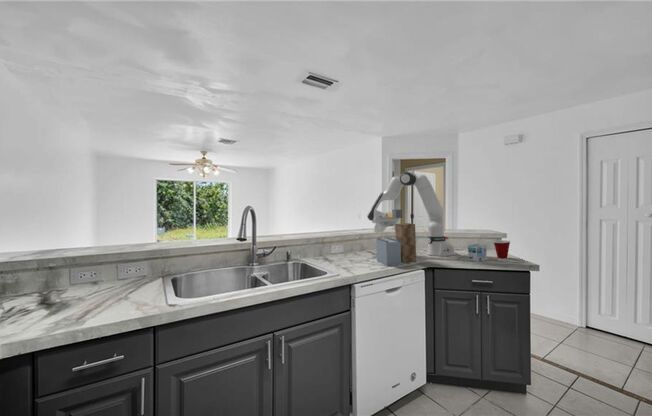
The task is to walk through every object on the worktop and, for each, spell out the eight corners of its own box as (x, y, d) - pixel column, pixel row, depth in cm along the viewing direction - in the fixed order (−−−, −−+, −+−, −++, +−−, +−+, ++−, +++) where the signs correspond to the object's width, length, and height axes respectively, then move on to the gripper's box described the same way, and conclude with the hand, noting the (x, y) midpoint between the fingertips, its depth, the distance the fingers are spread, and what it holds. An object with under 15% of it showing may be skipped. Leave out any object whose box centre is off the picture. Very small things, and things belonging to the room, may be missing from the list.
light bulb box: (477, 262, 188) (476, 245, 188) (467, 260, 194) (467, 244, 194) (487, 260, 193) (486, 244, 193) (477, 258, 199) (477, 243, 199)
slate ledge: (389, 259, 205) (389, 237, 205) (401, 264, 188) (400, 240, 187) (376, 260, 203) (376, 238, 203) (386, 265, 186) (386, 241, 186)
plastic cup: (491, 256, 207) (491, 239, 206) (508, 256, 203) (508, 239, 203) (494, 259, 196) (494, 241, 196) (513, 259, 193) (512, 241, 193)
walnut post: (409, 259, 204) (408, 223, 204) (416, 262, 194) (415, 224, 194) (396, 260, 202) (395, 223, 202) (402, 263, 192) (401, 224, 192)
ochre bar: (390, 216, 223) (390, 209, 222) (402, 217, 203) (402, 209, 203) (384, 217, 222) (384, 209, 222) (395, 218, 202) (395, 209, 202)
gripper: (370, 219, 231) (375, 211, 219) (394, 218, 235) (400, 210, 223) (372, 226, 228) (377, 218, 216) (396, 225, 232) (402, 217, 220)
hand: (389, 214), depth 219 cm, fingers closed on ochre bar, 3 cm apart
